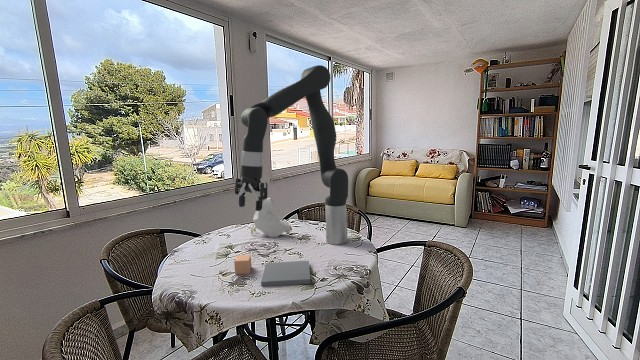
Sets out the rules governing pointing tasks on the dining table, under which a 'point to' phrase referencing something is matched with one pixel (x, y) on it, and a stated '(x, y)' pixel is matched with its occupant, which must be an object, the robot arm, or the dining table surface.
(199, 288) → the dining table surface
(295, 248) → the dining table surface
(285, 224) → the chicken
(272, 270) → the mat
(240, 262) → the cube
